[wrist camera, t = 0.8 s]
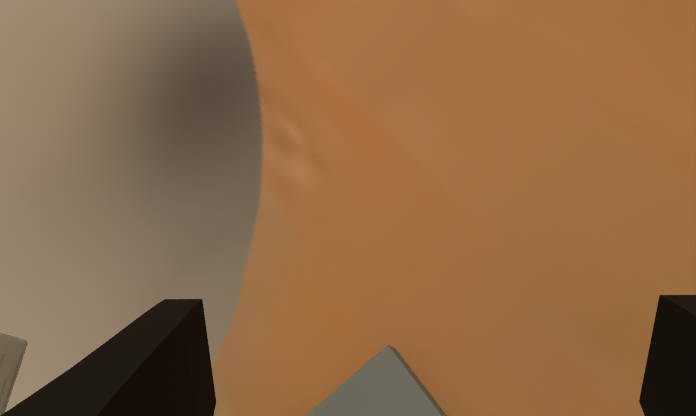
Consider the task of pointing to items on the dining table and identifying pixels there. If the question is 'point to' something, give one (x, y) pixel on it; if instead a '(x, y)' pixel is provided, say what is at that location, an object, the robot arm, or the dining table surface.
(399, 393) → the socket
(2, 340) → the skincare box
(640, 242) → the dining table surface
